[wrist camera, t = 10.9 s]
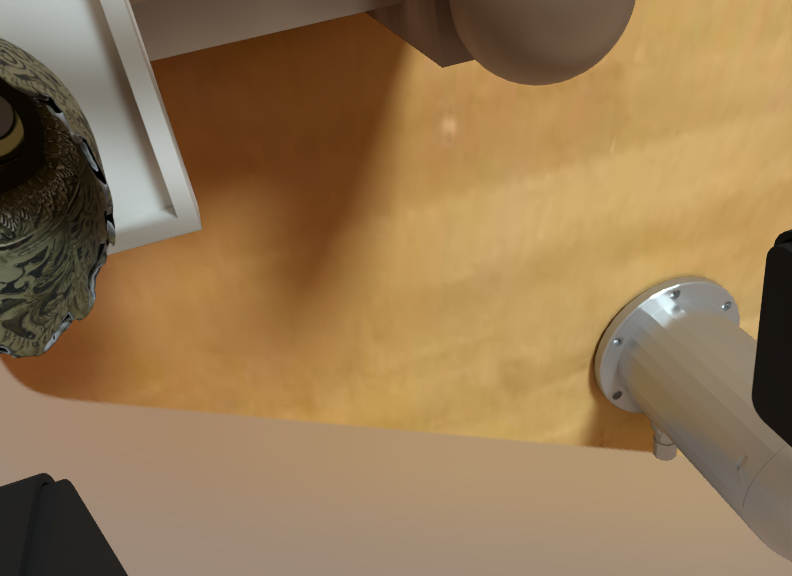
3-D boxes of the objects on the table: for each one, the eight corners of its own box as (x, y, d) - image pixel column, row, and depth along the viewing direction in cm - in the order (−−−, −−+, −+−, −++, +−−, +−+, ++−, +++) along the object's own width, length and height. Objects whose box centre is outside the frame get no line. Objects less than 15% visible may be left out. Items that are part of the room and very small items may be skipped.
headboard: (438, 20, 41) (668, 153, 23) (-25, 131, 37) (-174, 393, 19) (413, -195, 35) (690, -238, 18) (-136, -94, 31) (-490, -17, 14)
